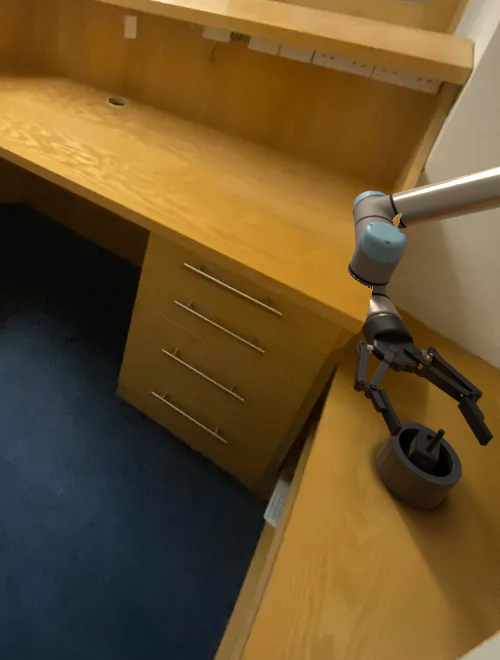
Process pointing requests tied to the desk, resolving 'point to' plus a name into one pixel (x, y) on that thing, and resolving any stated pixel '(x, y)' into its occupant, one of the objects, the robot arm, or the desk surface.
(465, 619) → the desk surface
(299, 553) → the desk surface
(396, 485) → the gray ring cup
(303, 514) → the desk surface
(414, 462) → the walkie-talkie
